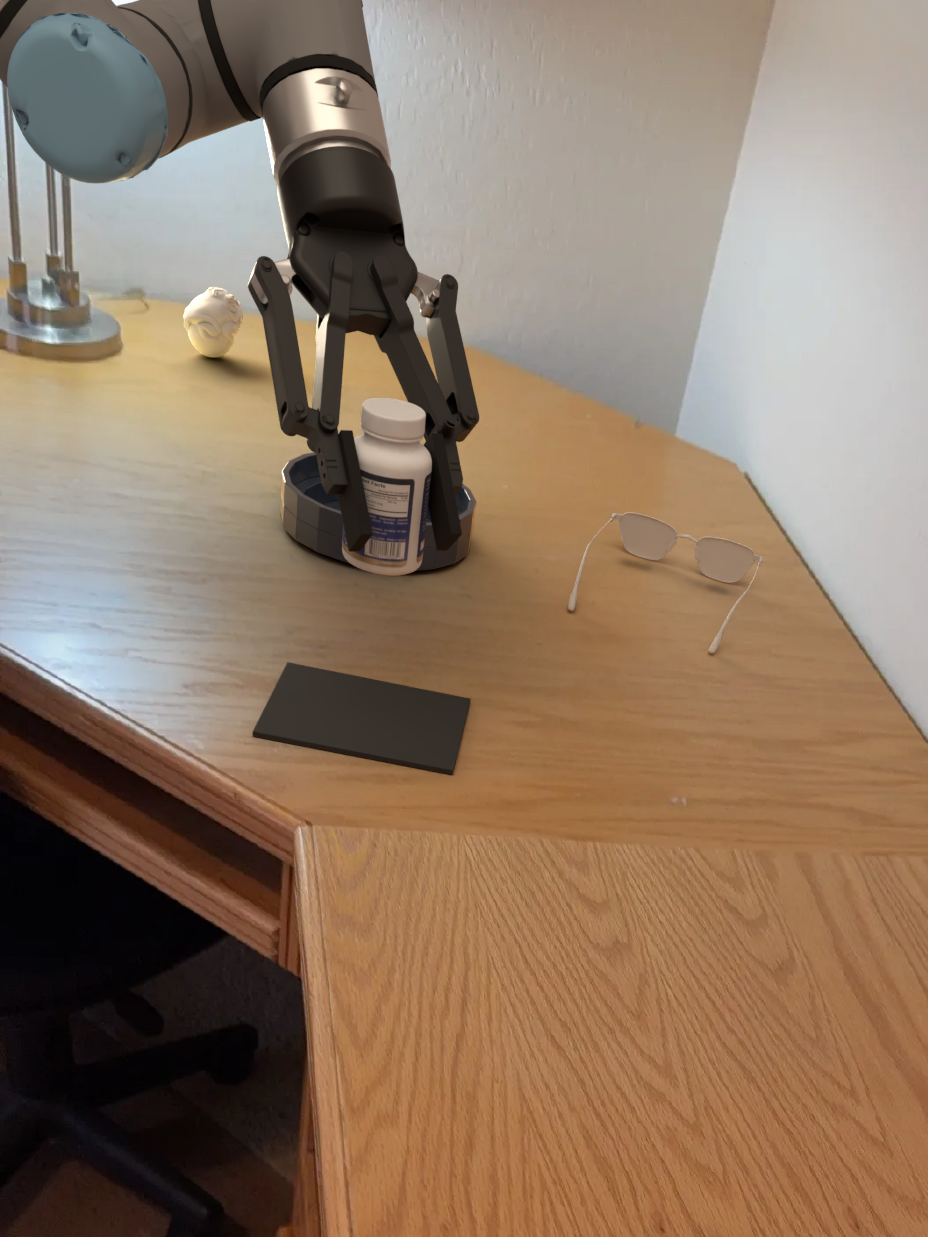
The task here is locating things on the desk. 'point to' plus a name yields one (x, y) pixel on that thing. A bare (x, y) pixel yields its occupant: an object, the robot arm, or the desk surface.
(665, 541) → the eyeglasses
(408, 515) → the pill bottle
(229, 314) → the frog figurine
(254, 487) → the desk surface
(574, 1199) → the desk surface
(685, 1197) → the desk surface
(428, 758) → the mat
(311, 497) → the bowl
